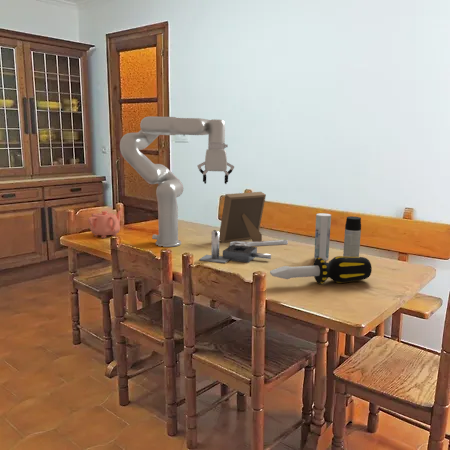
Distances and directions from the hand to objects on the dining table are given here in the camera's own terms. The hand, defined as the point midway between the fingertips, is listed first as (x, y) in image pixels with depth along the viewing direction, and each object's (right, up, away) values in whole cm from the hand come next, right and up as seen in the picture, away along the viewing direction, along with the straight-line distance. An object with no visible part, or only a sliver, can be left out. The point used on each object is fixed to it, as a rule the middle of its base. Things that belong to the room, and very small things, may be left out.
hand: (215, 183), depth 221 cm
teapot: (-59, -25, +31) cm, 71 cm away
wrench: (+23, -29, +9) cm, 38 cm away
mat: (0, -35, -15) cm, 38 cm away
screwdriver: (+41, -42, -45) cm, 74 cm away
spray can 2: (+48, -35, -11) cm, 60 cm away
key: (0, -34, -15) cm, 37 cm away
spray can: (+59, -36, -17) cm, 71 cm away
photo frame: (+14, -28, +19) cm, 37 cm away
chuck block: (+15, -35, -13) cm, 40 cm away
